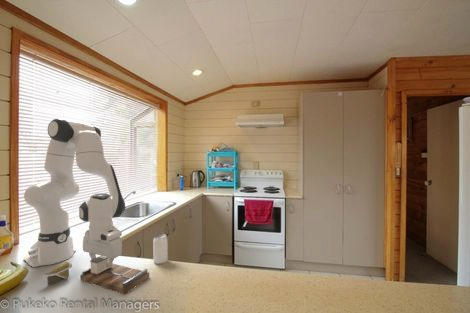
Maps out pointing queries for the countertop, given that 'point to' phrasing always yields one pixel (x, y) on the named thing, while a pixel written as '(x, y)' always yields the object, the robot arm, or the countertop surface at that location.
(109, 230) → the robot arm
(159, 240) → the can
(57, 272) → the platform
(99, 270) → the white lidded box
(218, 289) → the countertop surface
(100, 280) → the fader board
